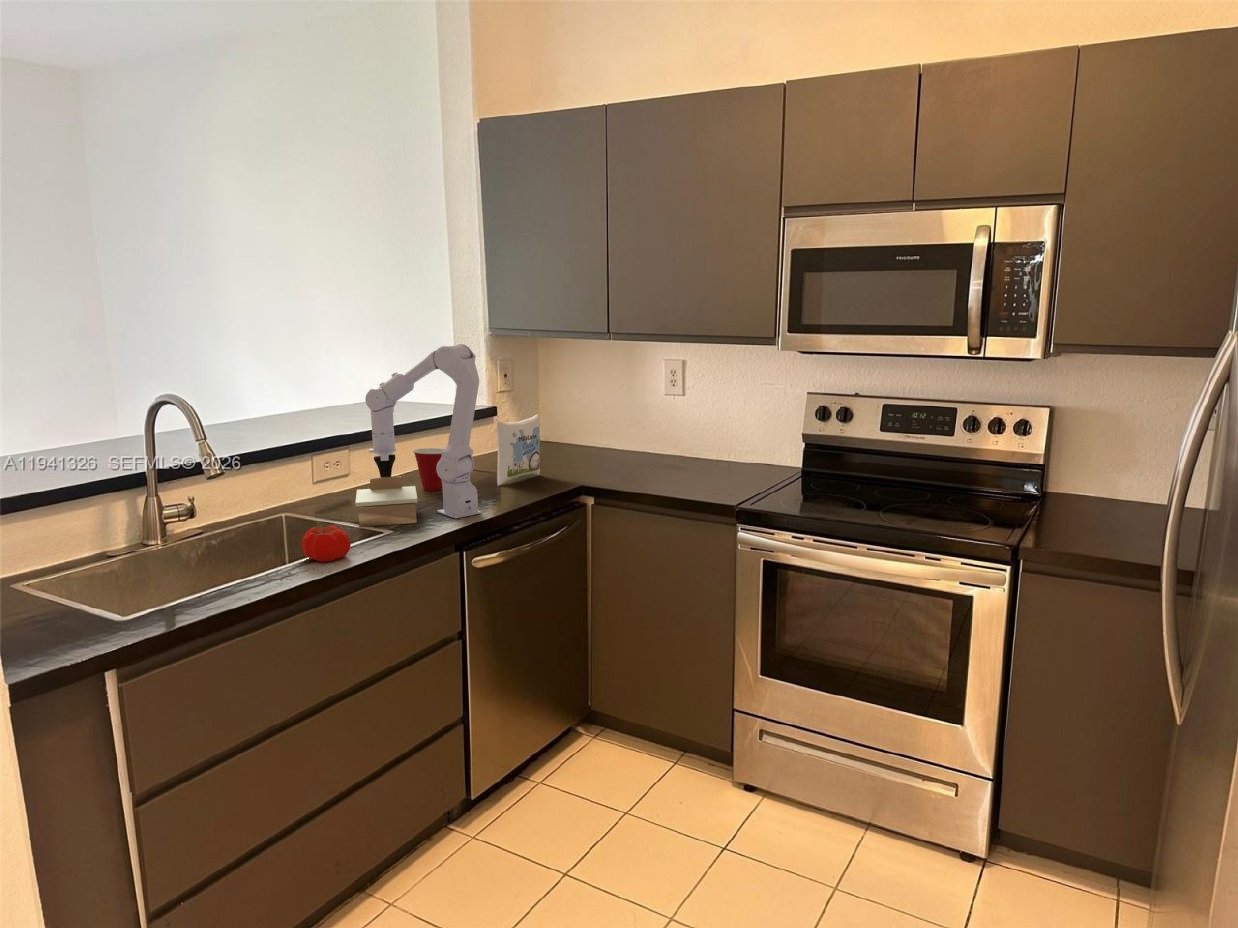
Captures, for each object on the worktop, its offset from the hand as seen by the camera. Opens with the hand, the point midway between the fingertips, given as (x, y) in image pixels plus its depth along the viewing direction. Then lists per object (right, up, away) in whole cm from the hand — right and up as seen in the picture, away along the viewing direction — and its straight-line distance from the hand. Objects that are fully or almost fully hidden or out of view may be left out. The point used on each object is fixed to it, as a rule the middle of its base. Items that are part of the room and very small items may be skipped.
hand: (386, 482), depth 234 cm
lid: (+3, -4, -11) cm, 12 cm away
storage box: (+3, -9, -10) cm, 14 cm away
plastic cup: (+8, -3, +23) cm, 25 cm away
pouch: (+33, 0, +33) cm, 46 cm away
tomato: (-2, -16, -43) cm, 46 cm away
